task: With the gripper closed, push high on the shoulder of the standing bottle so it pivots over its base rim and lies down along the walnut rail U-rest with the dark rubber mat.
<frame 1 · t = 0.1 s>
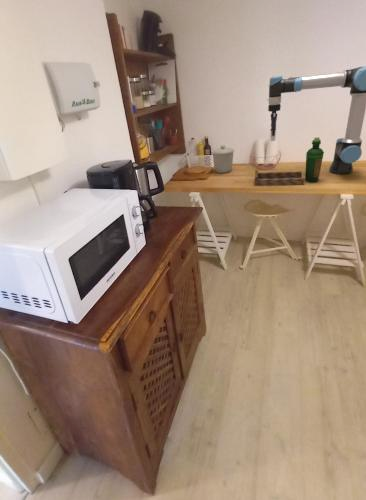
hand: (272, 138, 199), 28 cm above the table, fingers open, 13 cm apart
canister: (223, 171, 241), on the table
u rest: (281, 181, 206), on the table
bottle: (311, 180, 201), on the table
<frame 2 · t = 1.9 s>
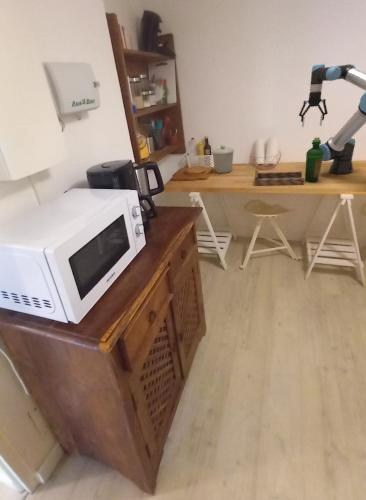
hand: (311, 126, 208), 31 cm above the table, fingers open, 11 cm apart
nothing on the table moved.
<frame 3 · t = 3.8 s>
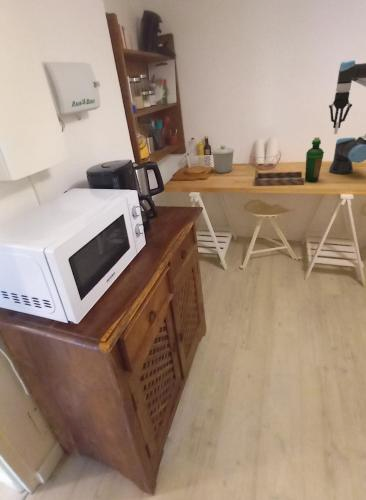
hand: (335, 133, 185), 30 cm above the table, fingers closed
nothing on the table moved.
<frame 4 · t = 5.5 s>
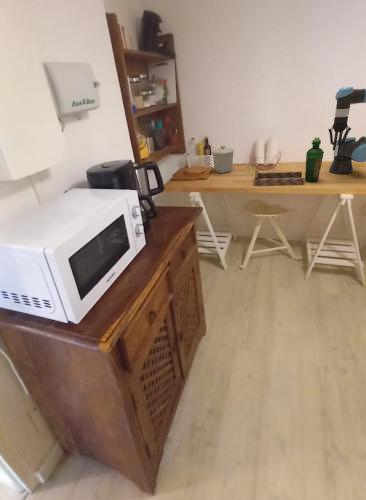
hand: (335, 155, 190), 16 cm above the table, fingers closed
nothing on the table moved.
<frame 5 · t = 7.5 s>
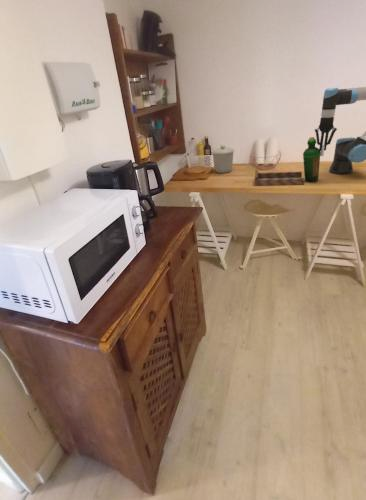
hand: (321, 155, 192), 17 cm above the table, fingers closed
bottle: (311, 180, 201), on the table, touching gripper
everything else where it was.
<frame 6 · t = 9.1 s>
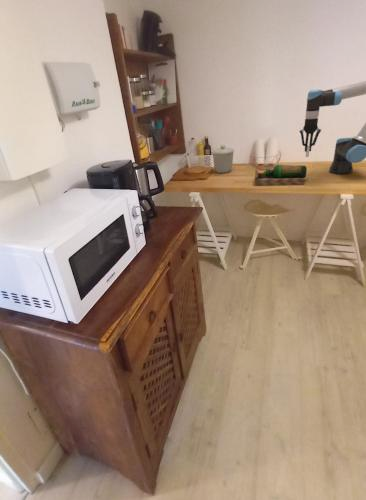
hand: (307, 156, 194), 17 cm above the table, fingers closed
bottle: (305, 172, 201), point 6 cm above the table, touching u rest
everything else where it was.
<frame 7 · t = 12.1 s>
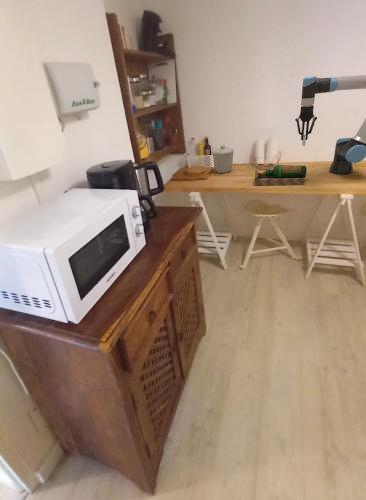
hand: (303, 145, 191), 24 cm above the table, fingers closed
nothing on the table moved.
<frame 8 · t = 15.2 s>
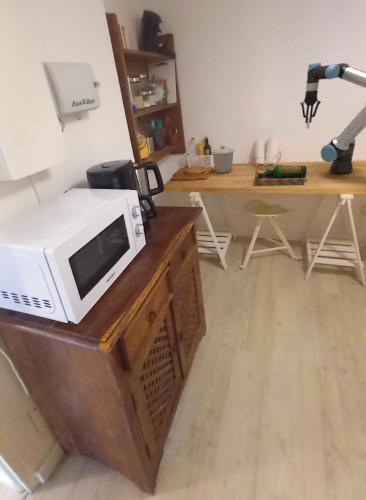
hand: (307, 127, 207), 30 cm above the table, fingers closed
nothing on the table moved.
at the end: bottle tilted 89°; bottle inside the target area (12.5 cm from its centre), point 5.6 cm above the table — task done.
